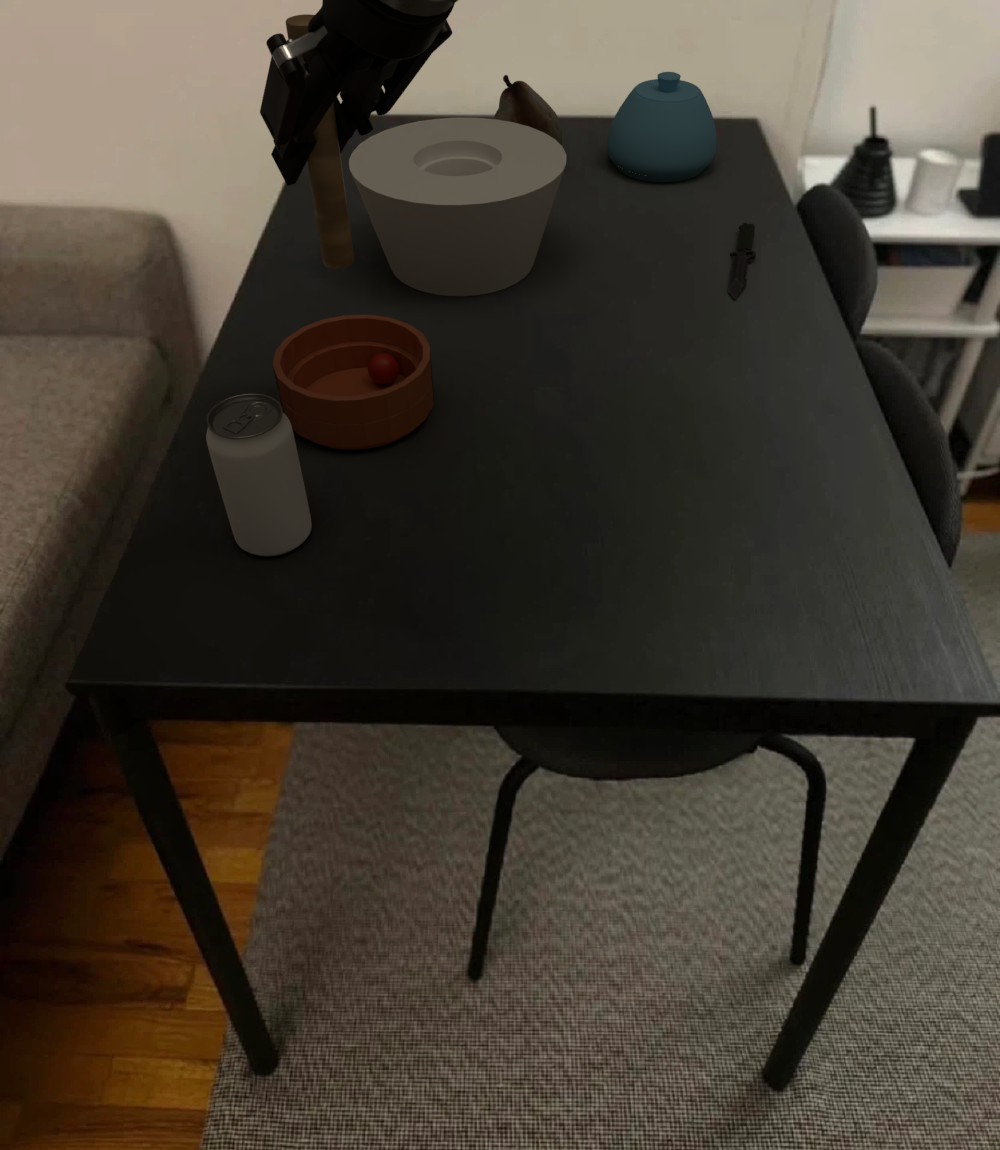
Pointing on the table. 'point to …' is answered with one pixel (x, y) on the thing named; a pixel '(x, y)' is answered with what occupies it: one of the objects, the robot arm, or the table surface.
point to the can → (259, 474)
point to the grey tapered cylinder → (459, 200)
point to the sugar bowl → (663, 131)
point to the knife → (741, 259)
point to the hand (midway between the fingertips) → (301, 163)
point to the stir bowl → (353, 381)
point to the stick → (327, 179)
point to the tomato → (383, 368)
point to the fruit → (528, 109)
